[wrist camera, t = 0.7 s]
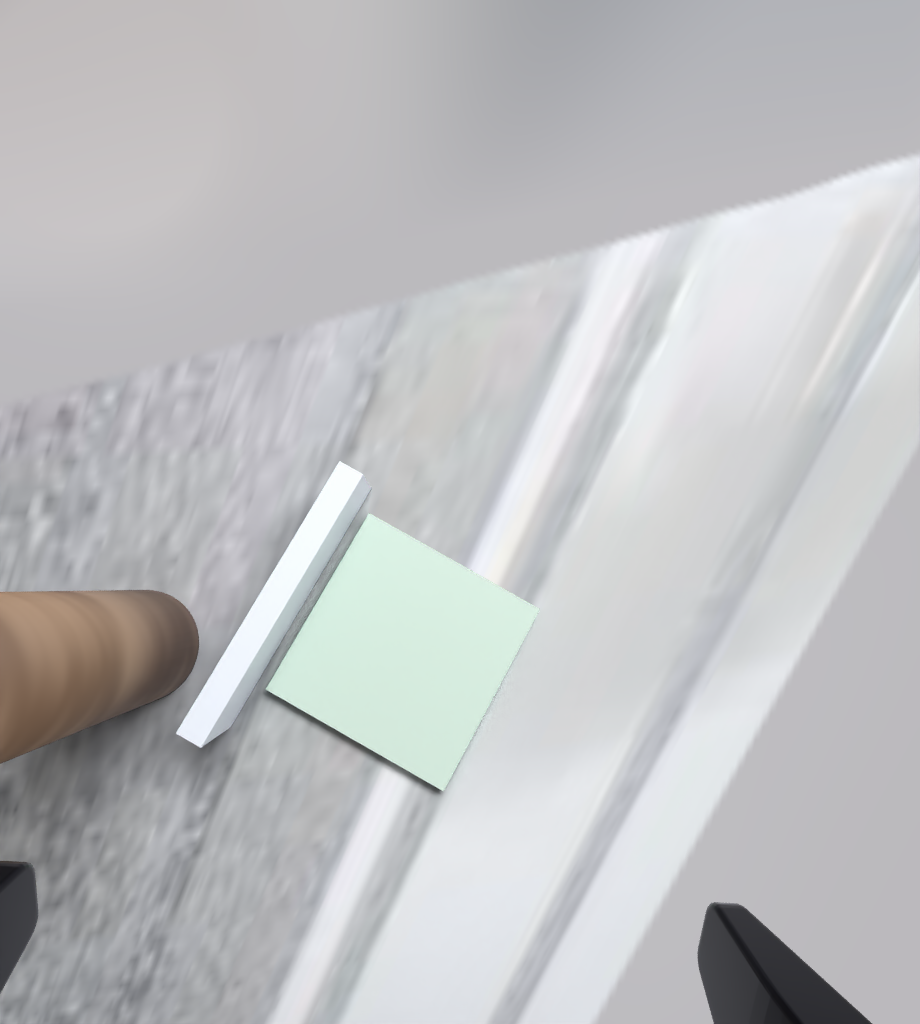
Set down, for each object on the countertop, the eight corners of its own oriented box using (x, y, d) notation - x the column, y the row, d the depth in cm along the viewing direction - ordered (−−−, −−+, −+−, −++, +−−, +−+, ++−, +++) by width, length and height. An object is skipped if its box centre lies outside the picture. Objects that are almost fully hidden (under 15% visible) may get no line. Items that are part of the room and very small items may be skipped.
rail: (230, 727, 23) (200, 747, 20) (208, 714, 23) (175, 733, 20) (371, 487, 25) (363, 474, 22) (350, 476, 25) (339, 461, 22)
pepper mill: (159, 723, 23) (-197, 900, 10) (64, 667, 23) (-412, 772, 10) (220, 623, 24) (-44, 669, 11) (126, 570, 24) (-249, 550, 11)
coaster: (443, 787, 23) (443, 791, 23) (268, 687, 24) (265, 689, 23) (538, 608, 24) (539, 609, 24) (369, 514, 25) (368, 513, 24)
